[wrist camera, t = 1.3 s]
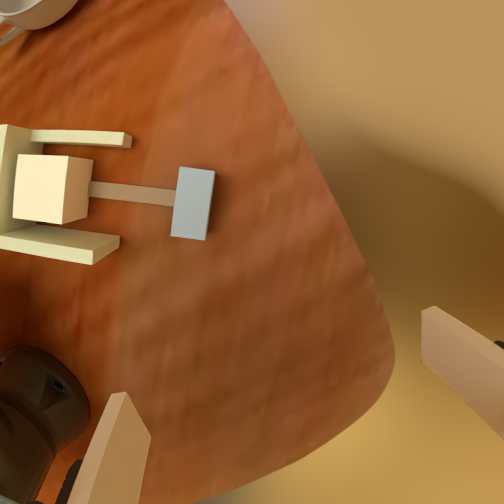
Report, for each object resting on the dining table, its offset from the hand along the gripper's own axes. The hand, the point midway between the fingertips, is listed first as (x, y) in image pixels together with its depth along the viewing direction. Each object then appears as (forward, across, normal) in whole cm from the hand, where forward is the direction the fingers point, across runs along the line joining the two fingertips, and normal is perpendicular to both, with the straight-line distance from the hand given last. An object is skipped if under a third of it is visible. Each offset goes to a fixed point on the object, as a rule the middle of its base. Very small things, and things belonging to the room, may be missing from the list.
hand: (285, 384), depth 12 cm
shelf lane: (+22, -16, +12) cm, 29 cm away
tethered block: (+22, -10, +10) cm, 26 cm away
